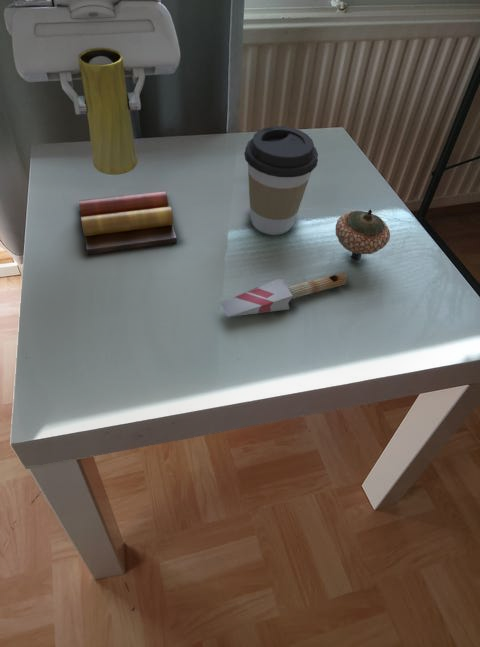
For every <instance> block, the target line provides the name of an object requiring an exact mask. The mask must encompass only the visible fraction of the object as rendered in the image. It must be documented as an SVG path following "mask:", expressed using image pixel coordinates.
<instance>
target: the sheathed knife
mask: <svg viewBox="0 0 480 647" xmlns="http://www.w3.org/2000/svg"><path fill="white" fill-rule="evenodd" d="M347 279H348V278H347V276H346V274H345V273H344V272H340V273H337V274H332V275H327V276H323V277H321V278H316V279H313V280H309V281H305V282H301V283H298V284H293V285H289V286H287V285H286V283H285V282H284V281H283V280H282V278H278V279H275V280H273V281H270V282H268V283H265V284H262V285H260V286H258V287H255V288H253V289H251V290H248V291H246V292H243V293H241V294H238V295H235V296H233V297H231V298H228V299H226V300H224V301H221V302H220V303H219V304H220V306H221V307H222V310H223V311H224V312H225V314H226V316H227V317H228V318H229V317H235V316H236V317H237V316H245V315H252V314H253V315H255V314H261V313H271V312H278V311H287V310H291V309H290V304H289V302H290V301H291V300H292V299H296V298H299V297H303V296H307V295H311V294H314V293H318V292H321V291H325V290H330V289H333V288H337V287H340V286H344V285H346V284H347V281H348V280H347Z"/></svg>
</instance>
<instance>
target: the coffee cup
mask: <svg viewBox="0 0 480 647" xmlns="http://www.w3.org/2000/svg"><path fill="white" fill-rule="evenodd" d="M243 155H244V160H245V162H246V163H247V173H248V192H249V193H248V194H249V211H250V212H249V214H250V215H249V216H250V220H251V224H252V226H253V227H254V228H255V230H257V231H258V232H260V233H262V234H265V235H270V236H279V235H283V234H286V233H288V232H289V231H290V230H291V229H292V227H293V225H294V224H295V221H296V218H297V216H298V212H299V209H300V206H301V203H302V200H303V198H304V195H305V191H306V189H307V186H308V183H309V180H310V177H311V174H312V172H313V171H314V170H315V169H316V167H317V166H318V162H319V159H318V158H319V152H318V150H317V148H316V147H315V143H314V140H313V138H312V137H311V136H309V135H308V134H307V133H306V132H304V131H302V130H300V129H297V128H294V127H291V126H290V127H289V126H283V125H273V126H266V127H264V128H261V129H259V130H258V131H256V132H255V133H254V134H253V136H252V138H251V139H250V140H248V142H247V144H246V146H245V149H244V152H243Z"/></svg>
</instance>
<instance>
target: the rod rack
mask: <svg viewBox="0 0 480 647" xmlns="http://www.w3.org/2000/svg"><path fill="white" fill-rule="evenodd" d="M167 194H168V193H167V192H166V190H160V191H151V192H142V193H133V194H132V193H131V194H124V195H115V196H107V197H97V198H88V199H79V200H78V205H79V212H80V215H81V216H80V221H81V226H82V231H83V235H84V241H85V247H86V254H87V255H93V254H94V255H95V254H100V253H101V254H102V253H108V252H115V251H116V252H117V251H123V250H131V249H137V248H139V249H140V248H144V247H145V248H146V247H153V246H160V245H161V246H162V245H167V244H176V243H178V242H177V240H178V239H177V235H176V233H175V229H174V214H173V210H172V207H171V206H169V201H168V195H167Z"/></svg>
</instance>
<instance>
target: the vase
mask: <svg viewBox="0 0 480 647" xmlns="http://www.w3.org/2000/svg"><path fill="white" fill-rule="evenodd" d="M98 56H104V57H107V58H109V59H110V60H111V61H112V62H113V63H112V64H107V65H93V64H89V62H90V61H91V60H92V59H93V58H95V57H98ZM78 61H79V67H80V72H81V77H82V79H81V82H82V86H83V93H84V96H85V101H86V106H87V112H88V114H86V115H87V121H88V129H89V138H90V146H91V153H92V165H93V167H94V169H95V170H97V171H98V172H100V173H102V174H104V175H110V176H111V175H112V176H114V175H116V176H117V175H123V174H126V173H129V172H131V171H133V170H134V169H135V168H136V167H137V166H138V157H137V155H136V148H135V147H136V146H135V139H134V131H133V124H132V117H131V110H130V111H129V103H128V97H127V93H128V90H127V83H126V77H125V75H124V67H123V56H122V54H121V53H120V52H119V51H117V50H114V49H109V48H93V49H88V50H85V51H83V52H82V53H80V54H79V55H78Z"/></svg>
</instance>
